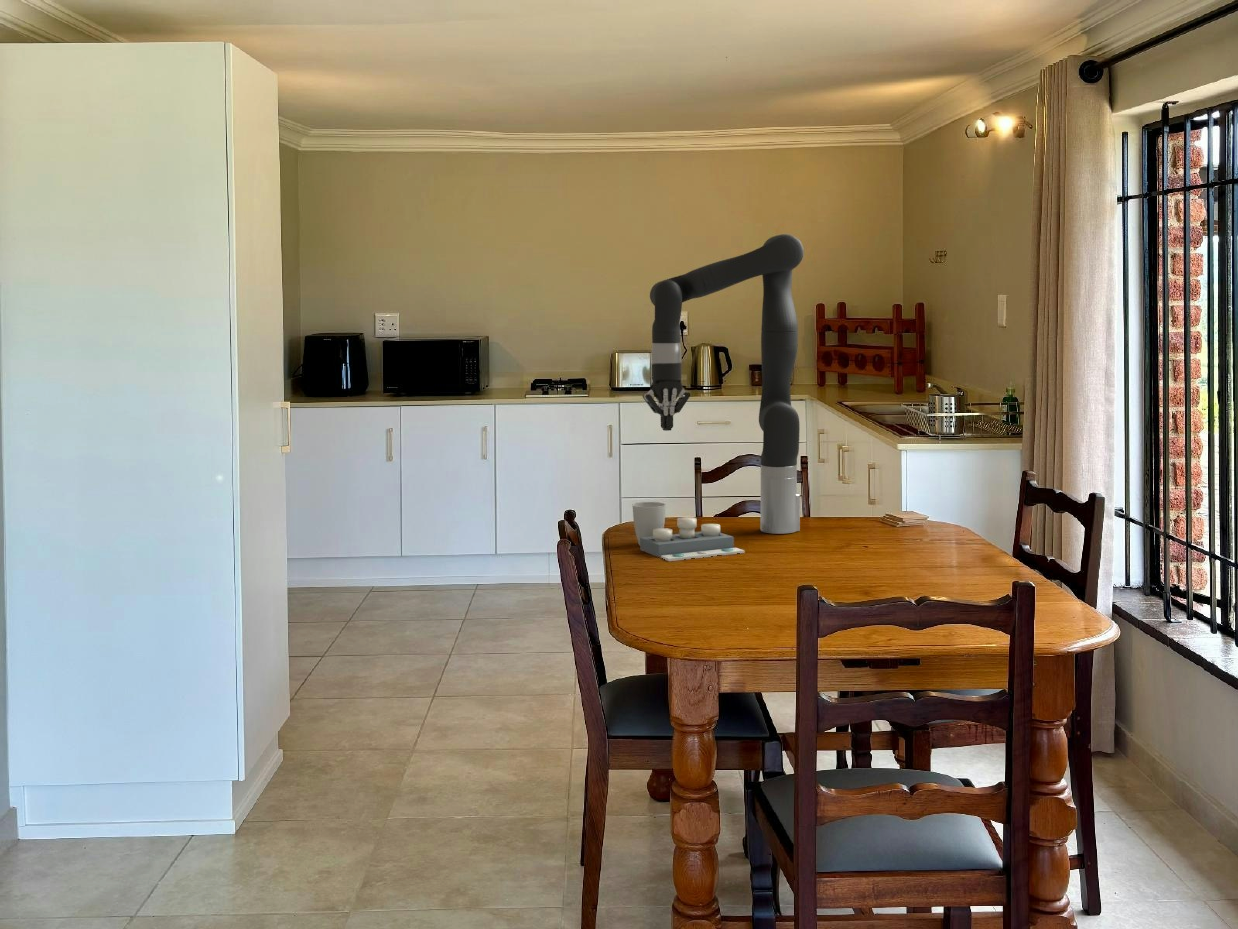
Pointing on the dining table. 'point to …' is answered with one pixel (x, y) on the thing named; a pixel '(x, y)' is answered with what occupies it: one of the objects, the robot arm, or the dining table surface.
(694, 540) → the board
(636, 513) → the cup
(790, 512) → the robot arm
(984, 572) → the dining table surface
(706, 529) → the button
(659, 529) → the button
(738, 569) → the dining table surface
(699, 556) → the strip
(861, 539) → the dining table surface
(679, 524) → the button
